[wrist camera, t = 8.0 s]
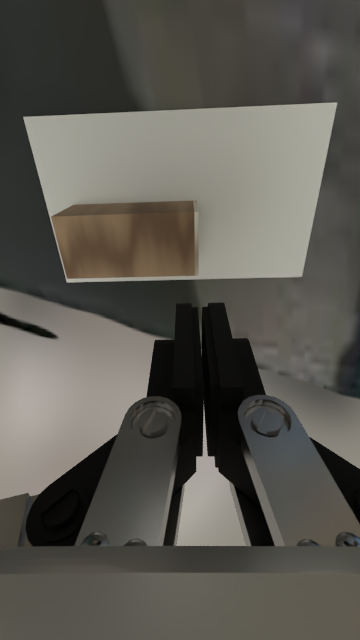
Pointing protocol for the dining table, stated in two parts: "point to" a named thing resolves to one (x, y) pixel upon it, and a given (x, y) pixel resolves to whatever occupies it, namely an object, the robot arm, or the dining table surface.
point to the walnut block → (129, 239)
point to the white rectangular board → (198, 176)
